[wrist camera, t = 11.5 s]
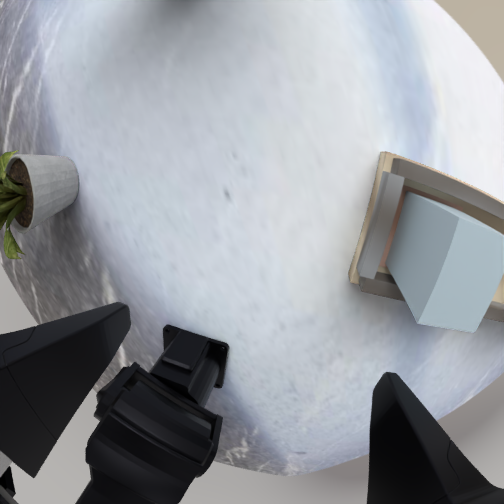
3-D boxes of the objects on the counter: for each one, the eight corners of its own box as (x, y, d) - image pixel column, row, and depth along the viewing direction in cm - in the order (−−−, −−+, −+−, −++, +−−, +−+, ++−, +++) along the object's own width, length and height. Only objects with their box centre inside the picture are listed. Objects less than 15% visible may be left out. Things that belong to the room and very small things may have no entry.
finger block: (435, 275, 16) (478, 333, 10) (385, 263, 17) (417, 323, 10) (457, 209, 14) (518, 243, 8) (406, 190, 15) (459, 217, 8)
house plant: (149, 162, 19) (-59, 219, 4) (94, 277, 25) (-21, 367, 10) (62, 92, 18) (-76, 101, 3) (27, 198, 24) (-78, 244, 9)
